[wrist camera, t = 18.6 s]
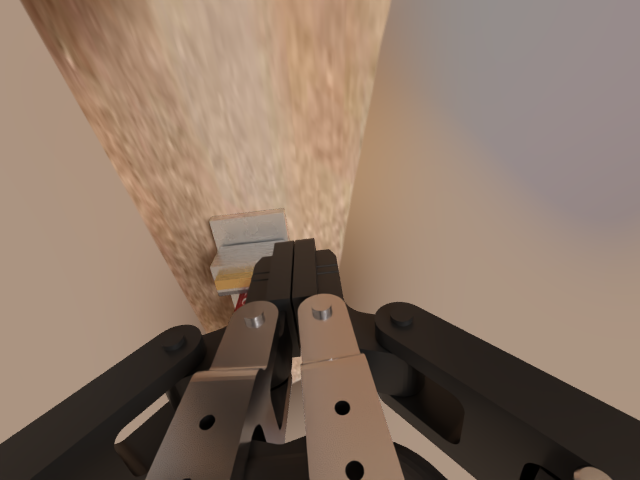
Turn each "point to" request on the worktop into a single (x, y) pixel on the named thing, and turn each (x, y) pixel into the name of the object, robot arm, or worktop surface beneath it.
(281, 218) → the vise
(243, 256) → the sliding jaw
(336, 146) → the worktop surface
